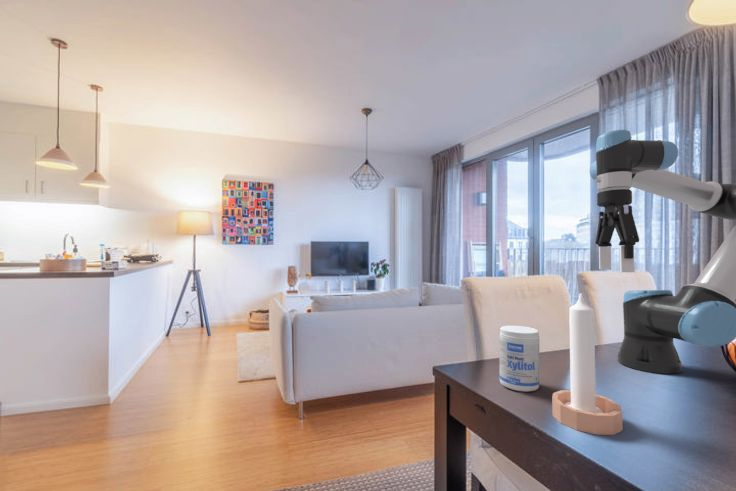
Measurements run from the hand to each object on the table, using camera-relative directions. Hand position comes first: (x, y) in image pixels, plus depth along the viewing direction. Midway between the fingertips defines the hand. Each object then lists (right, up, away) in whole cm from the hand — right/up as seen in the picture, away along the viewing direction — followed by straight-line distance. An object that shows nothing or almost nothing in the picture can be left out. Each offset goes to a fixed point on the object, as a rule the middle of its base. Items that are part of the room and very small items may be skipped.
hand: (615, 270), depth 90 cm
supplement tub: (-26, -30, -1) cm, 40 cm away
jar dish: (-20, -29, -19) cm, 41 cm away
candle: (-20, -29, -18) cm, 39 cm away
